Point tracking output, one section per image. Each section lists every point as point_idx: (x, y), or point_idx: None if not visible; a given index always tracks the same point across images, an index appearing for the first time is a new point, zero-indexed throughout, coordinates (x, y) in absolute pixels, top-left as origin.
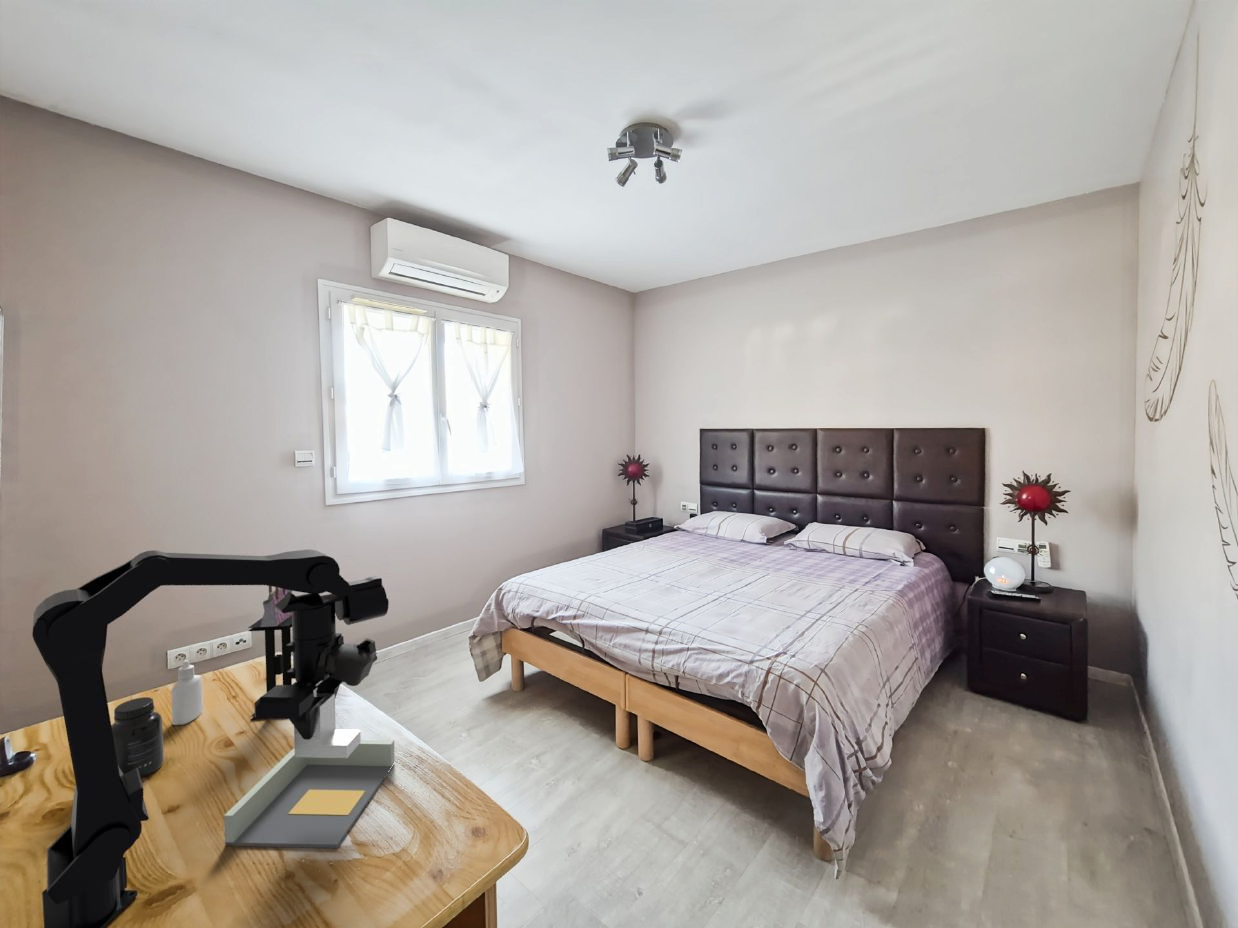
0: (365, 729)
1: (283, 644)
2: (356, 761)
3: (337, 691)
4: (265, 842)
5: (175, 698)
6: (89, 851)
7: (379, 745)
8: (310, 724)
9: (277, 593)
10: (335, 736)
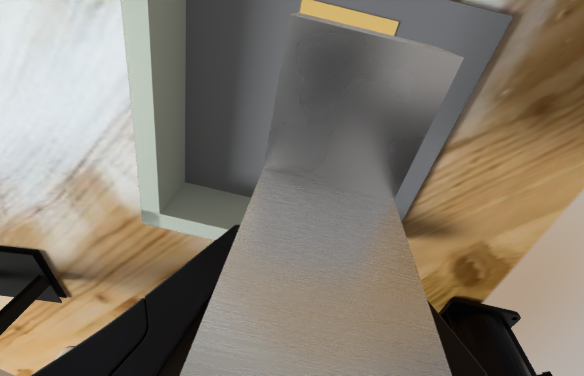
0: (25, 87)
1: None
2: (180, 66)
3: (79, 349)
4: (420, 183)
5: None
6: None
7: None
8: (467, 352)
9: None
10: (333, 152)
